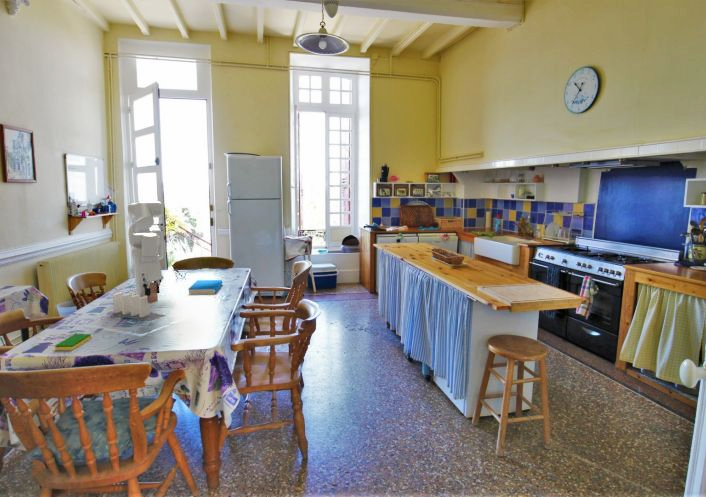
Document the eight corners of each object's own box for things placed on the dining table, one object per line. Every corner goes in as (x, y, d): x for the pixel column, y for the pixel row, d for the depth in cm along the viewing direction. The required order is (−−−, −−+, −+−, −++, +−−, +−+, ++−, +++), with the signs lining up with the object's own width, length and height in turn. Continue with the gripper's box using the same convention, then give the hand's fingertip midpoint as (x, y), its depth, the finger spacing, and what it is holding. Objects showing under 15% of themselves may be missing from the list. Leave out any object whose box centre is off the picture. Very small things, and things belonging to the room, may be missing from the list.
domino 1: (114, 312, 219) (112, 294, 218) (122, 310, 224) (121, 292, 222) (116, 312, 219) (115, 294, 217) (124, 310, 223) (123, 292, 222)
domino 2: (122, 314, 217) (121, 295, 216) (130, 311, 222) (129, 293, 220) (124, 314, 216) (123, 295, 215) (132, 311, 221) (131, 293, 220)
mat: (106, 315, 217) (105, 313, 217) (124, 309, 227) (124, 308, 227) (149, 323, 207) (149, 321, 207) (166, 316, 217) (166, 315, 217)
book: (188, 288, 263) (197, 279, 287) (188, 295, 263) (197, 285, 288) (216, 288, 265) (222, 279, 290) (216, 295, 266) (222, 285, 290)
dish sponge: (54, 351, 171) (54, 345, 171) (75, 339, 185) (74, 333, 185) (72, 351, 172) (72, 345, 171) (91, 339, 185) (91, 333, 185)
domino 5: (147, 303, 209) (146, 284, 208) (155, 300, 214) (154, 282, 213) (149, 303, 209) (148, 284, 207) (157, 301, 213) (156, 282, 212)
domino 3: (130, 315, 215) (129, 296, 214) (138, 312, 220) (137, 294, 218) (133, 315, 214) (132, 297, 213) (141, 313, 219) (140, 294, 218)
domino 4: (139, 317, 213) (138, 298, 211) (147, 314, 217) (146, 295, 216) (141, 317, 212) (140, 298, 211) (149, 314, 217) (148, 296, 215)
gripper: (158, 256, 218) (159, 289, 220) (130, 261, 202) (132, 297, 204) (169, 257, 215) (170, 291, 217) (142, 262, 199) (144, 298, 202)
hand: (152, 293), depth 211 cm, fingers closed on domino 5, 4 cm apart
